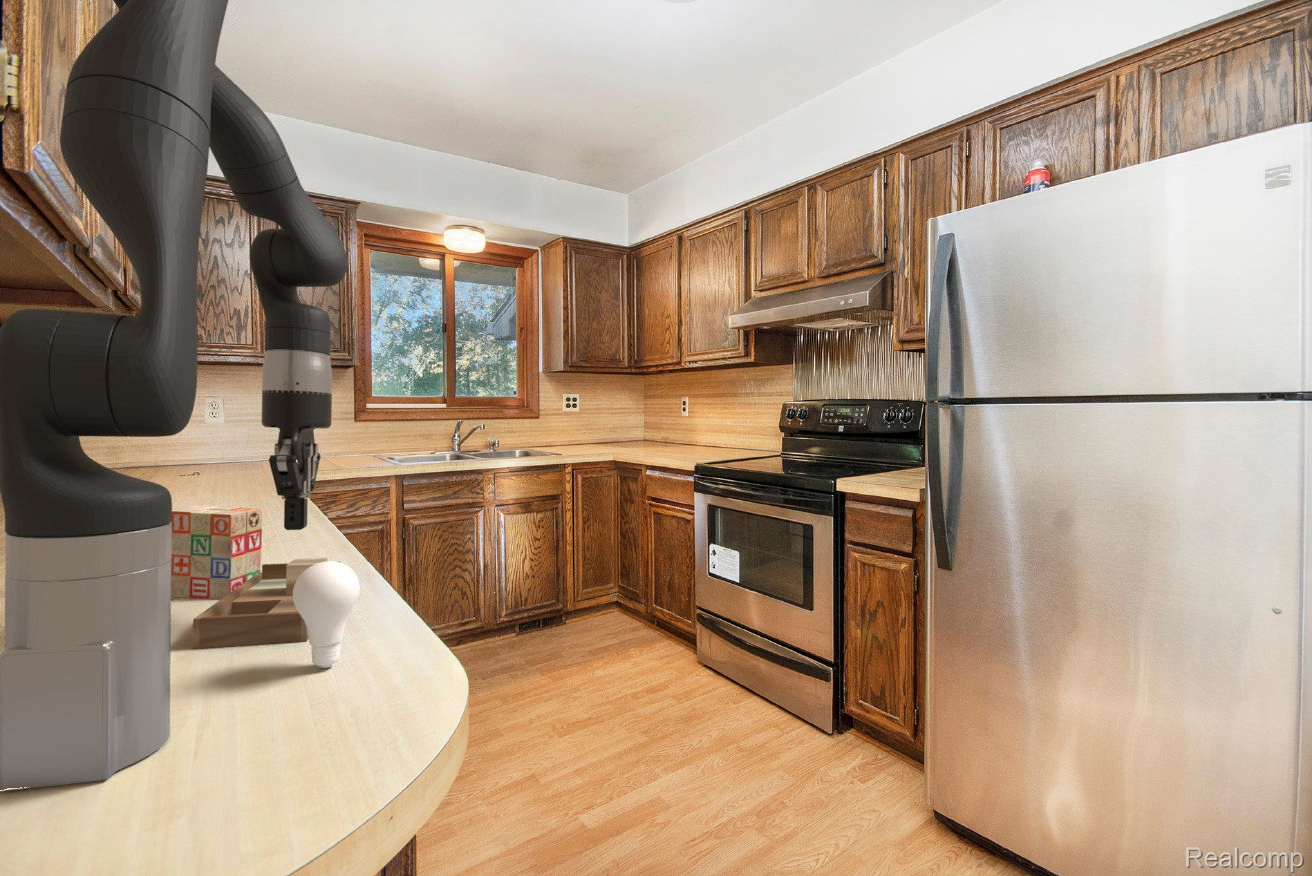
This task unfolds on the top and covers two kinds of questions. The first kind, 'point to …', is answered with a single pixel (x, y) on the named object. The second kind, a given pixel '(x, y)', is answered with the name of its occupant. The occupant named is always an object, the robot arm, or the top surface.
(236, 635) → the board
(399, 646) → the top surface
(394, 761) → the top surface
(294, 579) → the beech block
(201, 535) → the stack of blocks
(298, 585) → the lightbulb
